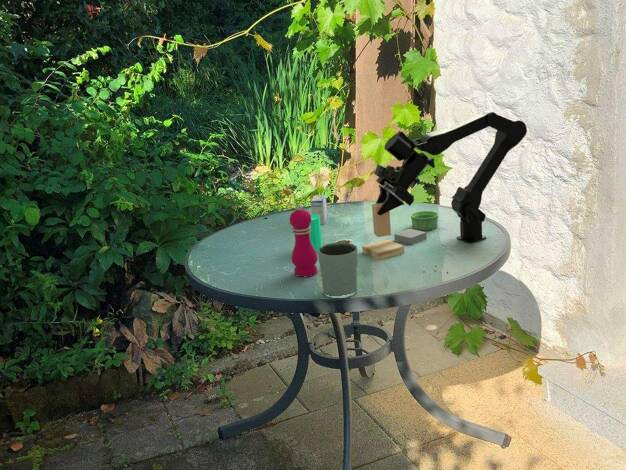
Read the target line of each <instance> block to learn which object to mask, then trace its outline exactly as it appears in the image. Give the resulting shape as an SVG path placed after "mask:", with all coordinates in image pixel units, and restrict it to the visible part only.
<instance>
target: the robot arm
mask: <svg viewBox="0 0 626 470" xmlns="http://www.w3.org/2000/svg"><path fill="white" fill-rule="evenodd" d="M489 127H490V128H492V129H494V130H495V131H496V132H495V136H494V143H493V145H492V146H491V148H490V150H489V151H488V153H487V155H486V156H485V157H484V159H483V161H482V162H481V164H480V166H479V168H478V169H477V170H476V172H475V173H474V175H473V176H472V179H471V180H470V181H469V183H468V184H467V185H466V186H464V187H462V186H458V188H457V189H456V190H455V191H456V192H455V193H454V195H453V196H451V199H452V200H451V203H450V204H451V205H450V206H451V208H452V210H453V211H454V212H455V214H457V216H458V217H459V218H460V221H459V226H460V228H459V233H460V235H458V236H456V239H457V240H461V241H463V242H466V243H469V244H471V243H472V244H473V243H475V242H478V241H482V240H486V239H487V236H485V235H483V222H485V219H486V214H485V213H484V212H483V211H482V210H481V209H480V206H481V203H482V197H483V194H484V193H483V192H484V191H485V190H486V188H487V186H488V185H489V183H490V182H491V180H492V178H493V176H494V175H495V174H496V172H497V170H498V169H499V167H500V165H502V163H503V161H504V159H505V158H506V156H507V155H508V153H509V152H510V151H511V150H512V149H514V148H515V147H516V146H518V145H519V144H520V142H522V140H523V139H524V138H525V137H526V135H527V133H528V128H527V125H526V123H525V122H524V121H522V120H520V119H519V120H518V119H515V118H510V117H509V118H507V117H504V116H502V115H500V114H497V113H496V112H494V111H491V110H490V111H489V110H485V111H482V113H480V114H478V115H476V116H473V117H471V118H469V119H466V120H464V121H461V122H460V123H459V122H458V124H455V125H453V126H451V127H449V128H445V129H440V130H434V131H430V132H427V133H424V134H422V136H420V138H416V139H411V138H409V137H408V136H407V135H406V134H405V133H404V132H403V131H401V130H398V132H396V133H395V134H393V135H392V136H391V137H390V138H388V139H387V141H386V142H385V145H384V147H383V149H384V150H385V151H386V152H387V153H389V154H390V155H391V156H392V157H394V158H395V159H396V160H397V161H399V162H401V161H404V162H403V164H402V165H401V166H400V165H398V166H396V167H394V166H392V165H389V164H388V165H387V166H386V165H383V164H379V163H377V165H376V168H375V170H374V173H373V174H374V175H375V176H377V177H378V178H377V179H376V180H375V182H377V184H378V188H379V194H378V197H377V200H376V201H375V204H377V203H383V204H382V206H381V208H380V209H379V211H378V213H377V214H378V215H382V214H384V213H386V212H388V211H389V212H391V211H392V210H395V209H396V208H398V207H401V206H404V205H405V204H407V205H408V206H409V207H410V206H411V205H412V204H413V203H414V202H415V196H414V195H413V194H412V193H410V192H409V191H408V190H409V189H410V187H411V186H413V184H417V183H418V178H419V176H420V175H421V174H422V172H423V171H425V169H426V168H427V166H429V167H430V168H432V169H435V168H436V165H435V158H434V157H429V156H428V155H426V154H429V155H431V156H439V155H440V154H442V153H443V152H445V151H446V150H448V149H449V148H450V147H451V146H452V145H454V144H455V143H456V142H458V141H460V140H463V139H465V138H467V137H469V136H472V135H473V134H475V133H478V132H480V131H482V130H486V129H487V128H489ZM416 150H418V151H421V152H418V151H416Z"/></svg>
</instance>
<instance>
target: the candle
mask: <svg viewBox="0 0 626 470" xmlns="http://www.w3.org/2000/svg"><path fill="white" fill-rule="evenodd" d="M308 212H309V211H308ZM309 213H310V215H311V218H312V221H311V223H310V225H309V226H310V227H311V228H310V230H311V232H310V241H311V244H312V246H313V248H314V249H315V251H316V253H318V248H320V247H321V246H323V238H322V227H321V225H322V224H320V216H319V215H316V214H313V215H312V214H311V211H310V212H309Z"/></svg>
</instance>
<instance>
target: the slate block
mask: <svg viewBox="0 0 626 470" xmlns="http://www.w3.org/2000/svg"><path fill="white" fill-rule="evenodd" d="M393 235H394V237H393V238H394V242H397V243H398V242H400V243H404V244H407V245H413V244H414V245H415V244H417V243H419V242H422V241H424V240H427V239H428V238H427V237H428V235H427V231H424V230H416V229H414V228H407V229H404V230H402V231H400V232H396V233H394V234H393Z"/></svg>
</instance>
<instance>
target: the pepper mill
mask: <svg viewBox="0 0 626 470" xmlns="http://www.w3.org/2000/svg"><path fill="white" fill-rule="evenodd" d="M295 208H296V210H294V211H292V213H290V215H289V224H290V225H291V226H292V234H294V239H295V240H294V242H295V243H294V247H293V249H292V252H291V253H292V254H291V262H292V265H294V266H295V267H294V274H296V275H299V276H310V277H312V276H311V275H313V276H315V275H316V274H317V273H318V268H317V265H316V263H317V262H318V261H319V257H318V253H317V252H316V251H315V249H314V248H313V246H312V244H311V241H310V232H311V230H310V228H311V227H310V226H309V225H310V223H311V221H312V218H311V215H312V214H311V212H310V213H309V211H308V210H306V209H303V208H304V207H303V205H302V204H300V203H299V204H296V206H295ZM314 274H315V275H314ZM296 275H295V276H296Z"/></svg>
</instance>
